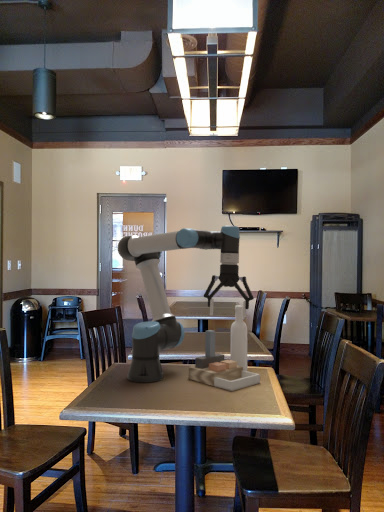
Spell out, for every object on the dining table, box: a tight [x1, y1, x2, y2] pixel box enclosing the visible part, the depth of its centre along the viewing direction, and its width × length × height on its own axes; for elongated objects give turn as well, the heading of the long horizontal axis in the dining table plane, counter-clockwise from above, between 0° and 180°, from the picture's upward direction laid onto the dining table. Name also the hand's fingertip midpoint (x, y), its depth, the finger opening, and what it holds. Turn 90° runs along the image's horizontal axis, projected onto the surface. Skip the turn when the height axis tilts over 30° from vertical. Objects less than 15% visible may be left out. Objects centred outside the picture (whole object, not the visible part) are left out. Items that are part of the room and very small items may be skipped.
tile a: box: [209, 362, 226, 372], centre depth 173 cm, size 5×5×2 cm
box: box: [213, 370, 261, 392], centre depth 170 cm, size 9×18×4 cm, turn 133°
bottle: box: [229, 304, 248, 371], centre depth 193 cm, size 8×8×30 cm
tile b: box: [220, 359, 237, 369], centre depth 178 cm, size 5×5×2 cm
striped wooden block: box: [188, 365, 243, 387], centre depth 178 cm, size 15×18×5 cm
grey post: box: [194, 329, 225, 369], centre depth 181 cm, size 4×14×15 cm, turn 133°
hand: (227, 316), depth 169 cm, fingers open, 13 cm apart
